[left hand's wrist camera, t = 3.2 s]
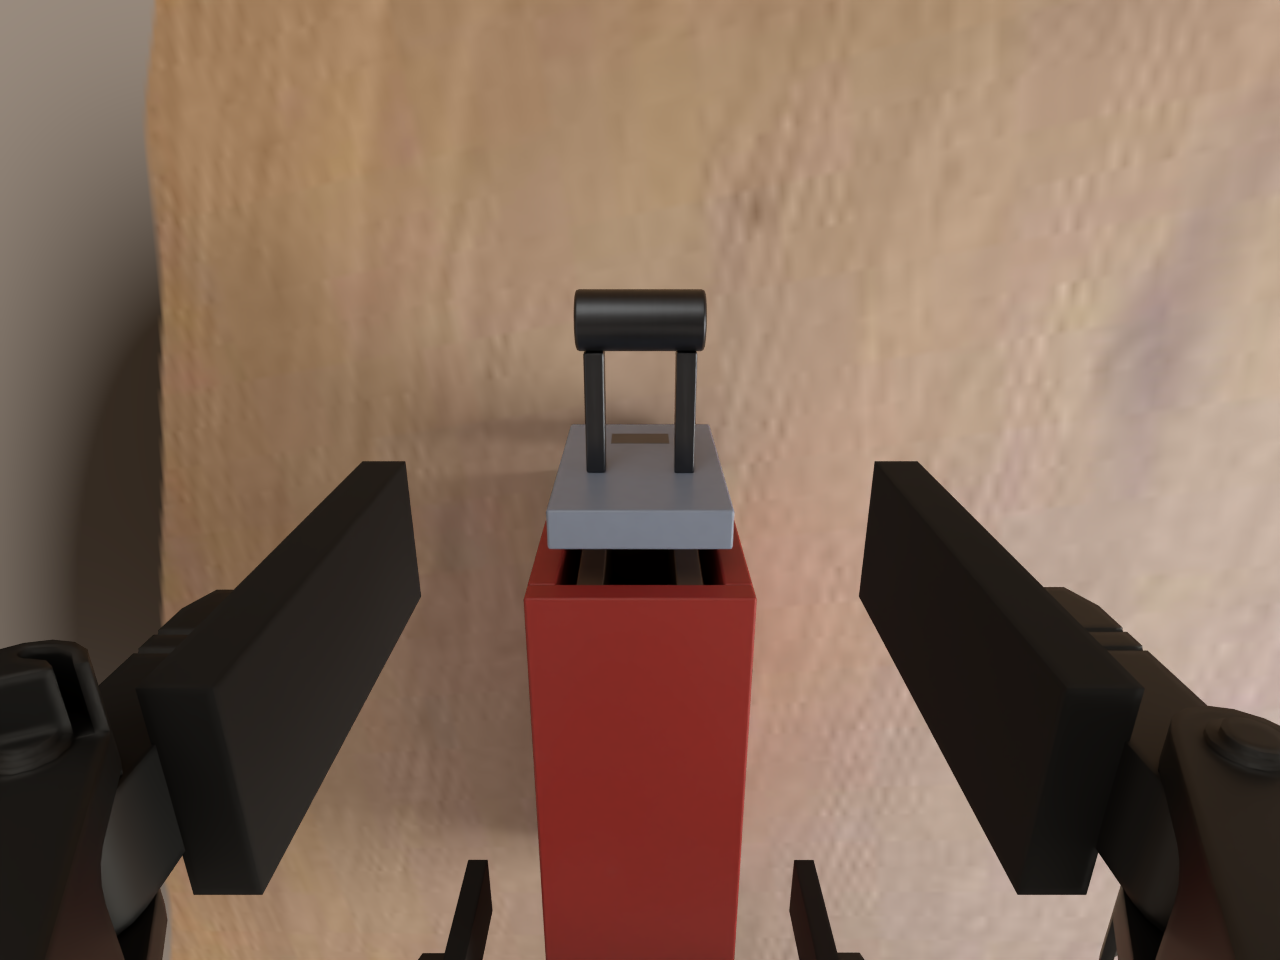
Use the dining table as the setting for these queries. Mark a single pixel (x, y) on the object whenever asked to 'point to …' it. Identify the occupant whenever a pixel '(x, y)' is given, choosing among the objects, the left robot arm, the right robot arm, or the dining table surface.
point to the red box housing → (640, 756)
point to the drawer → (640, 452)
